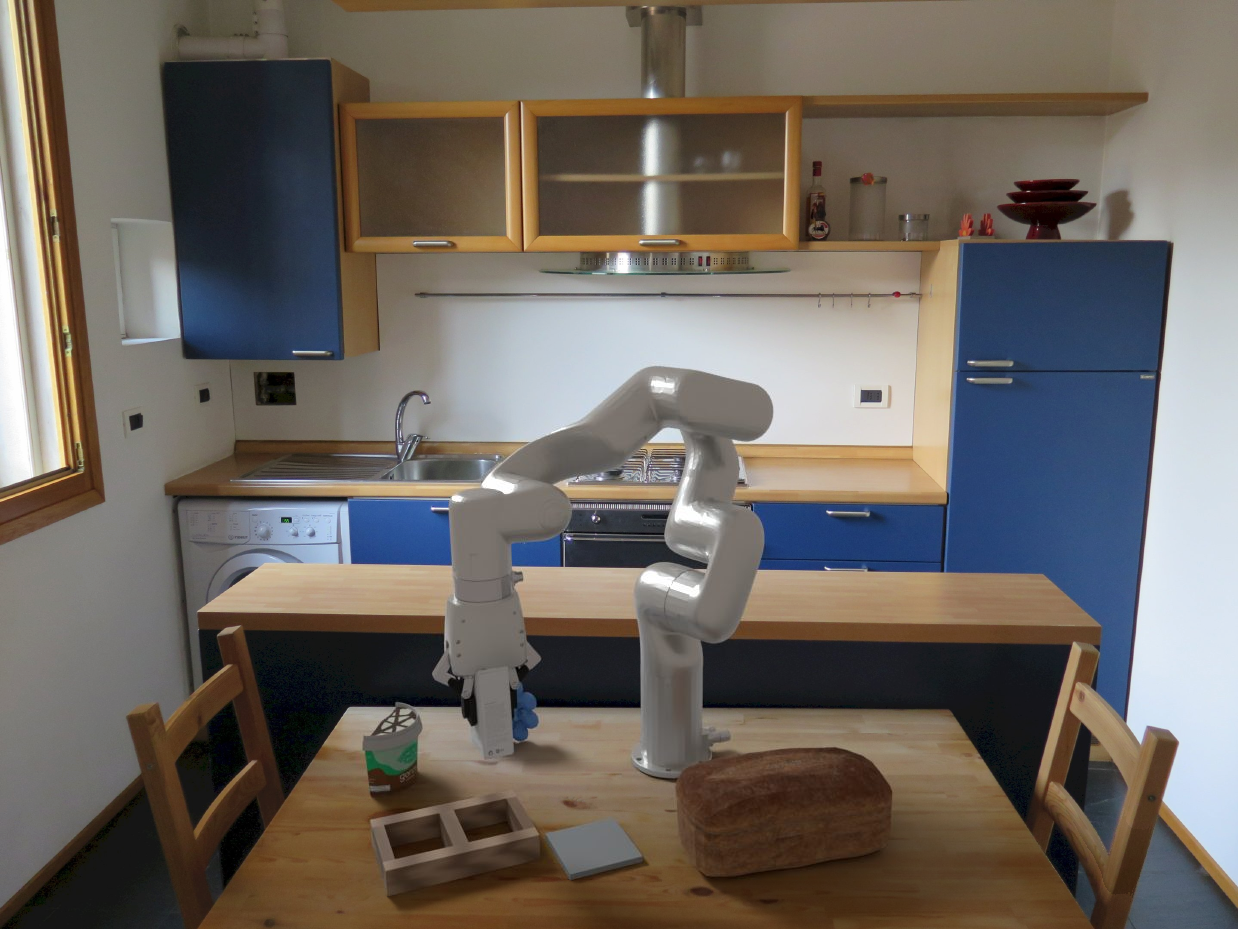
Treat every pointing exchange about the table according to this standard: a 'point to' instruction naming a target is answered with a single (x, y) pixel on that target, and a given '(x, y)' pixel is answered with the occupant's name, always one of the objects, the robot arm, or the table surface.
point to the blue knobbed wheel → (524, 715)
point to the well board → (453, 841)
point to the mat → (593, 848)
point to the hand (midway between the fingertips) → (490, 716)
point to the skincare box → (492, 713)
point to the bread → (781, 810)
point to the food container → (393, 751)
